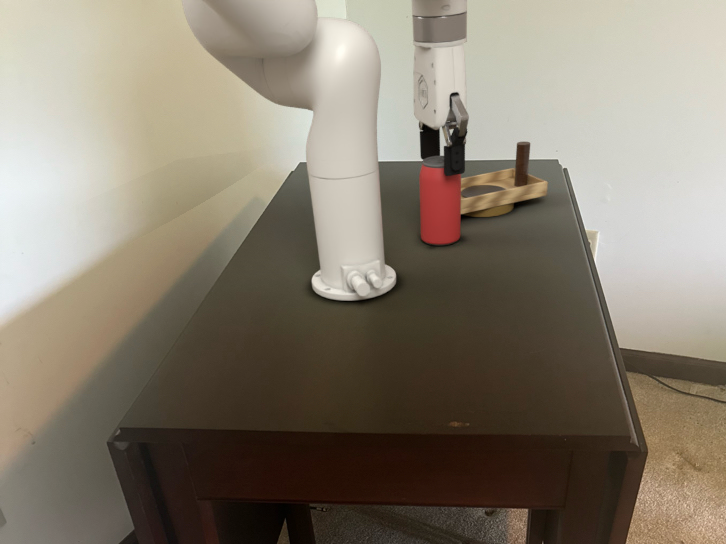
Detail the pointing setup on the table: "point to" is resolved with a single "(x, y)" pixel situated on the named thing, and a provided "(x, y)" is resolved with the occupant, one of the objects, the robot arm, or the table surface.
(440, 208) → the beer can
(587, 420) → the table surface
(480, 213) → the turntable base
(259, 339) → the table surface
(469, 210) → the tray
